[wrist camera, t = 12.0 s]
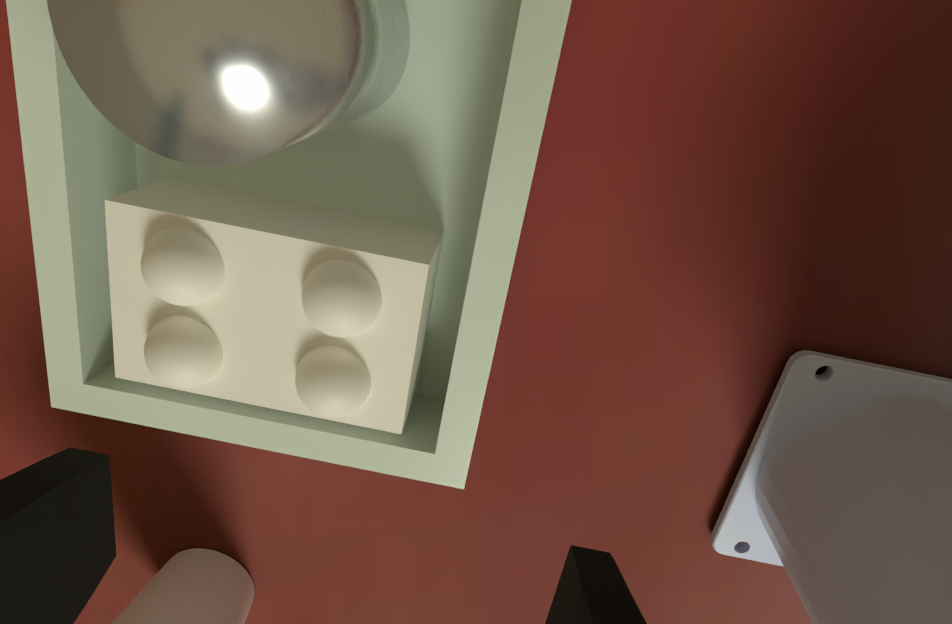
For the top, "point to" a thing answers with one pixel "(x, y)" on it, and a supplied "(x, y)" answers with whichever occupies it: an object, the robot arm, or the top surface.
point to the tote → (319, 184)
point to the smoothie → (193, 592)
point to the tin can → (231, 69)
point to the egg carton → (270, 301)
